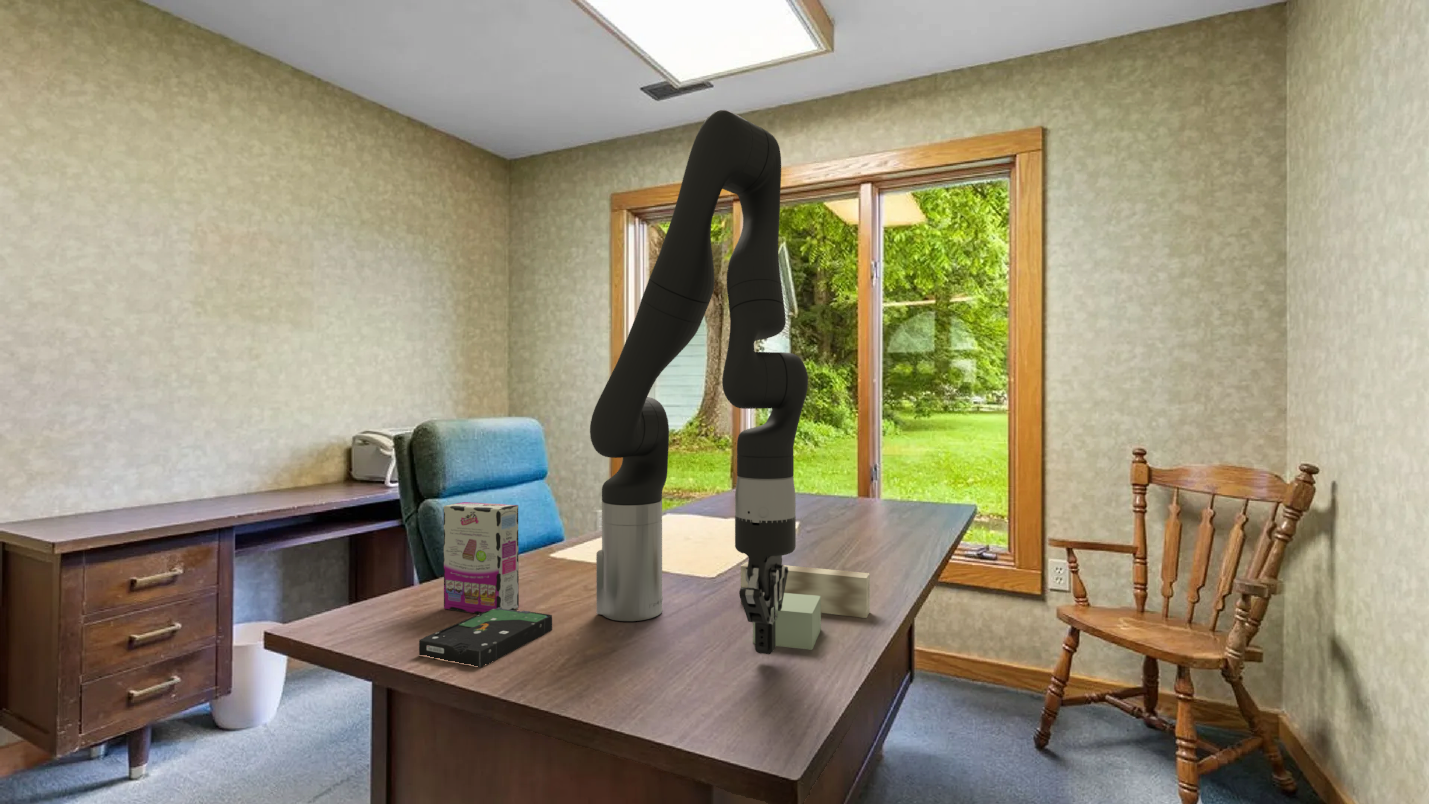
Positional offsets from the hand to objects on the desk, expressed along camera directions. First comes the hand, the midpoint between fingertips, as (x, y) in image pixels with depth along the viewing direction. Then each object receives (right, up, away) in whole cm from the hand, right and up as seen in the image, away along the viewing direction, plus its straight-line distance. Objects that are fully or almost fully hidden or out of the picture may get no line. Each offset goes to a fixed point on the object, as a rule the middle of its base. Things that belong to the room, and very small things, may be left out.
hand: (765, 651), depth 83 cm
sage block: (+4, -2, +10) cm, 10 cm away
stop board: (+8, -1, +22) cm, 23 cm away
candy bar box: (-43, -2, +22) cm, 48 cm away
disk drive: (-37, -2, +7) cm, 38 cm away
